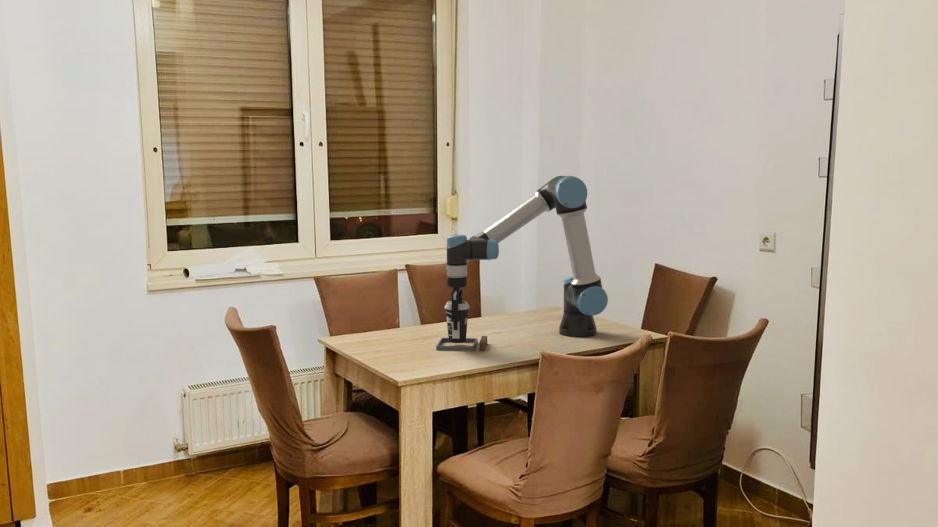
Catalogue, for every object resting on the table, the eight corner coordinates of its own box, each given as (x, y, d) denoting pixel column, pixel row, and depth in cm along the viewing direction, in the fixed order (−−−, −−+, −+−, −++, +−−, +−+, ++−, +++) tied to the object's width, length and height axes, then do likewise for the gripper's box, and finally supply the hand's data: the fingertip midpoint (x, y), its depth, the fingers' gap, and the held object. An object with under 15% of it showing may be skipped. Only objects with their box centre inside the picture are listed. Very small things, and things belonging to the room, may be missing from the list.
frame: (477, 342, 302) (477, 338, 301) (473, 350, 288) (473, 346, 288) (441, 341, 303) (441, 337, 303) (436, 349, 289) (436, 345, 289)
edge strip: (487, 343, 299) (487, 335, 299) (484, 350, 287) (484, 343, 287) (482, 343, 299) (482, 335, 299) (479, 350, 288) (479, 342, 287)
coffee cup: (467, 344, 290) (466, 305, 288) (442, 343, 292) (441, 304, 290) (472, 339, 299) (471, 300, 297) (447, 338, 301) (447, 299, 299)
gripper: (450, 272, 302) (451, 330, 305) (443, 279, 283) (443, 341, 285) (469, 272, 302) (470, 330, 304) (463, 280, 282) (463, 342, 285)
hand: (457, 335), depth 295 cm, fingers closed on coffee cup, 7 cm apart
